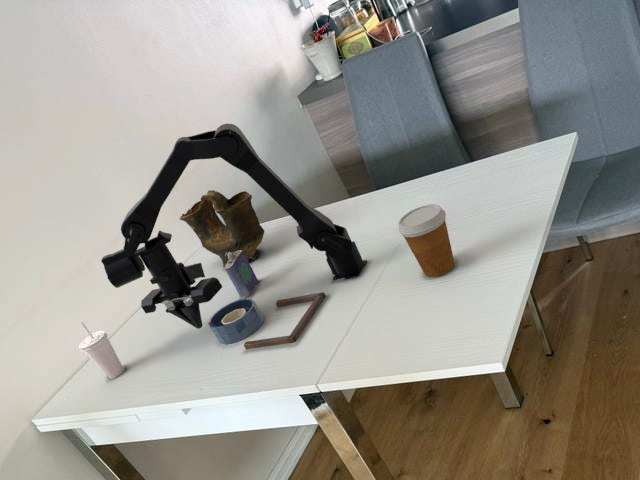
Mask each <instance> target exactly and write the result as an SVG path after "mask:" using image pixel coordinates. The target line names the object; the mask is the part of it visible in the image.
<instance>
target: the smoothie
mask: <svg viewBox="0 0 640 480" xmlns="http://www.w3.org/2000/svg"><path fill="white" fill-rule="evenodd" d="M79 323H80V325H81V327H82V328H83V329H84V331H85V332H86V334H87V336H86V337H84V339H82V340H81V342H80V343H79V344H78V348H79V349H80V351H81V352H84V353H85V354H86V356H87V357H88V358H89V359H91V361H92V362H93V363H94V364H96V366H97V367H98V368H99V369H100V370H101V371H102V372H103V373H104V374H105V375H106V376H107V377H108V378H109V379H115V378H117V377H119V376H120V375H121V374H123V373H124V372H125V368H124V366H123V364H122V362H121V360H120V358H119V357H118V355H117V353H116V351H115V349H114V347H113V345H112V344H111V341H110V339H109V338H108V336H109V335H108V334H107V332H106V331H105V330H98V331H95V332H93V333H92V332H91V331H90V330H89V329H88V327H87V326H86V324H85V323H84V322H82V321H81V322H79Z"/></svg>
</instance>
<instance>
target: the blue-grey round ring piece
mask: <svg viewBox="0 0 640 480" xmlns="http://www.w3.org/2000/svg"><path fill="white" fill-rule="evenodd" d="M242 308H244V309H245V311H246V312H247V313H246V314H245V315H243V316H242V317H241V318H239V319H237V320H236V321H234V322H232V323H229V324H226V325H223V324H222V322H221V320H222V319H223V318H224V317H225V316H226V315H227V314H228V313H230V312H232V311H234V310H236V309H242ZM263 323H264V316H263V314H262V312H261V310H260V309H259V307H258V305H257V303H256V301H255V300H254V299H253V298H249V297H248V298H245V299H241V298H240V299H237V300H235V301H232V302H229V303H227V304H226V305H224V306H223V307H221V308H219V310H217V311H216V312H214V313H213V315H212V316H211V317H210V318H209V320H208V326H209V328H210V329H211V330H212V332H213V334H214V336H215V337H216V339H217V341H218V343H219V344H223V345H230V344H231V345H232V344H234V343H237V342H240V341H242V340H245V339H246V338H248V337H250V336H251V335H253V334H255V332H257V331H258V330H259V329H260V328H261V326H262V325H263Z"/></svg>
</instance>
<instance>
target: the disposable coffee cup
mask: <svg viewBox="0 0 640 480" xmlns="http://www.w3.org/2000/svg"><path fill="white" fill-rule="evenodd" d="M446 215H447V212H446V211H445V210H444V209H443V208H442V206H441V205H440V204H437V203H436V204H435V203H433V204H432V203H430V204H425V205H424V204H423V205H421V206H418V207H415V208H413V209H411V210H409V211H408V212H406V213H405V214H403V215H402V216H401V218H399V220H398V229H397V231H398V232H399V234H401V235H402V237H403V238H404V240H405V242H406V243H407V245H408V247H409V249H410V251H411V253H412V254H413V256H414V258H415V260H416V261H417V263H418V265H419V267H420V268H421V270H422V272H423V274H424V276H425V277H427V278H437V277H442V276H444V275H445V274H448V273H449V272H450V271H452V270H454V267H455V265H456V264H455V263H456V262H455V259H454V254H453V249H452V243H451V240H450V235H449V231H448V225H447V223H446Z"/></svg>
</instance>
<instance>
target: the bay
mask: <svg viewBox="0 0 640 480" xmlns="http://www.w3.org/2000/svg"><path fill="white" fill-rule="evenodd" d="M325 298H326V294H325V292H324V291H321V292H317V293H310V294H304V295H300V296H293V297H288V298H282V299H278V300H276V302H275V305H276V307H277V308H281V307H285V306H292V305H297V304H305V303H310V302H311V304H310V305H309V307H308V308H307V310H306V311H305V312H304V314H303V315H302V317H301V318H300V320H299V321H298V323H297V324H296V326H295V327H294V328H293V330H292V331H291V333H290V334H289V335H283V336H277V337H270V338H263V339H256V340H249V341H245V342H244V344H243V347H244V348H245V350H250V349H258V348H264V347H265V348H266V347H271V346H272V347H273V346H281V345H286V344H294V343H295V342H296V341H297V340H298V338H299V337H300V334H302V332H303V331H304V330H305V328H306V326H307V325H308V323H309V322H310V320H311V319H312V317H313V316H314V314H315V313H316V311H317V310H318V309H319V307H320V306H321V304H322V303H323V301H324V299H325Z"/></svg>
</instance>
